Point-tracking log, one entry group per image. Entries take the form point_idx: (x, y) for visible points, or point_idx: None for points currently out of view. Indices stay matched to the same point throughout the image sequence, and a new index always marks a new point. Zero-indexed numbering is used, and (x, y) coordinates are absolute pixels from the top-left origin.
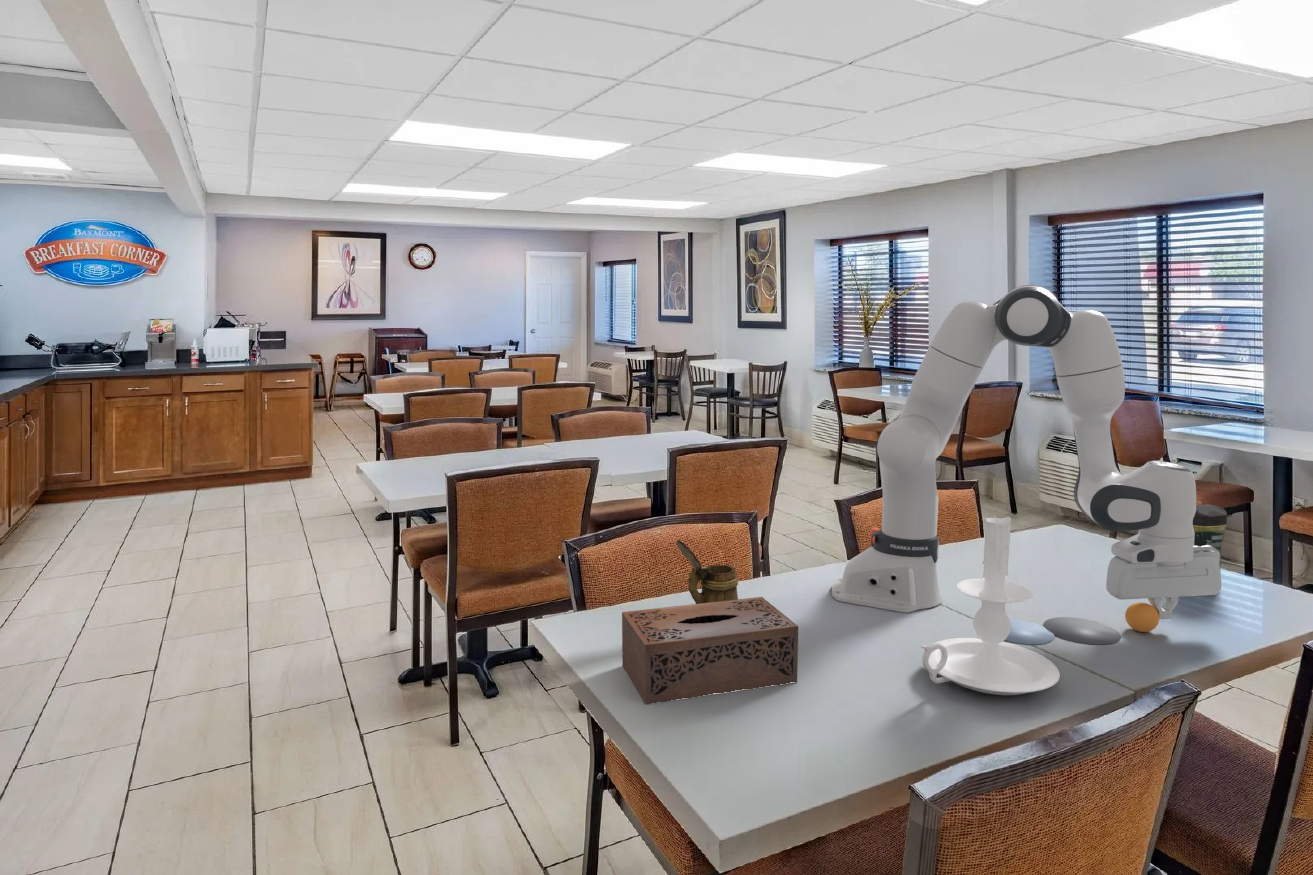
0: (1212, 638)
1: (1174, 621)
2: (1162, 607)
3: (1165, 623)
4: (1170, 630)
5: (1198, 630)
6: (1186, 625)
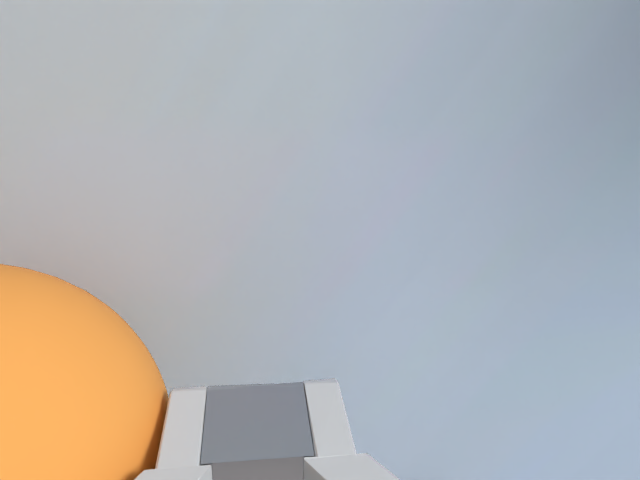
0: (548, 461)
1: (563, 103)
2: (305, 462)
3: (426, 157)
4: (342, 331)
5: (585, 323)
6: (586, 213)
